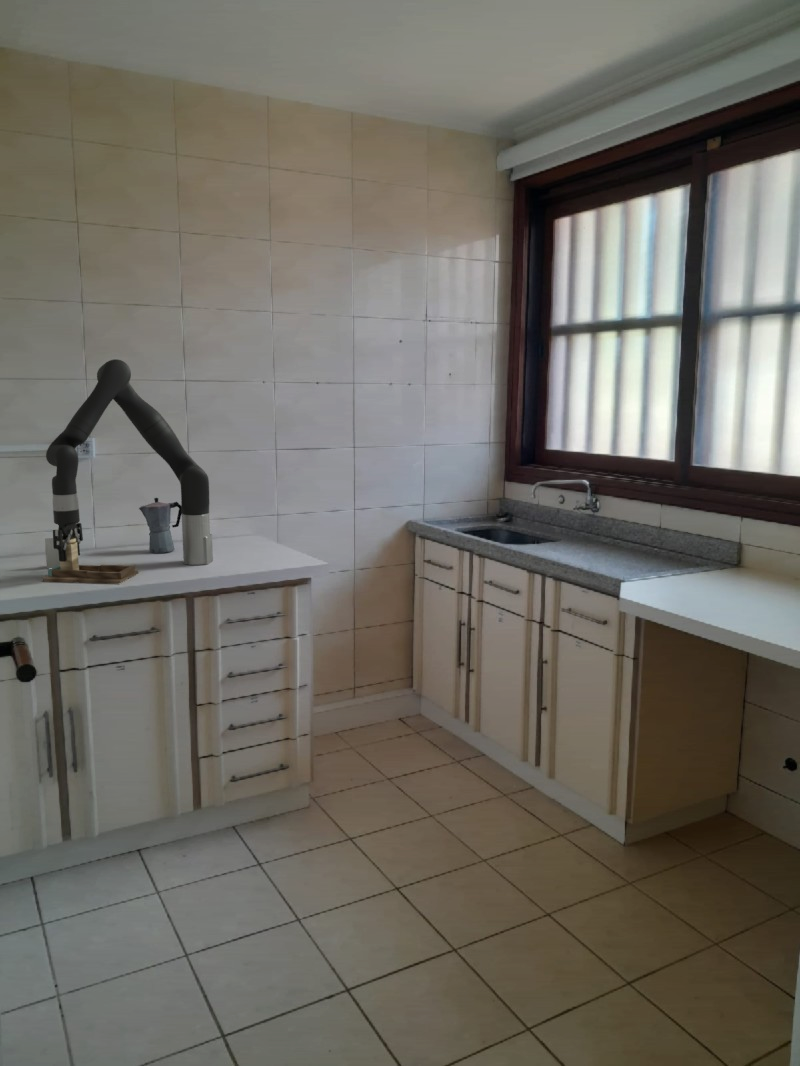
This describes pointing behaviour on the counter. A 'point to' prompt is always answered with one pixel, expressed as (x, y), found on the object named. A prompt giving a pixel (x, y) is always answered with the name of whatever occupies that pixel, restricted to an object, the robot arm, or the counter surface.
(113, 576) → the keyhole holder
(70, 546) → the maple peg
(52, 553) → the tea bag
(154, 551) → the moka pot
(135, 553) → the counter surface
